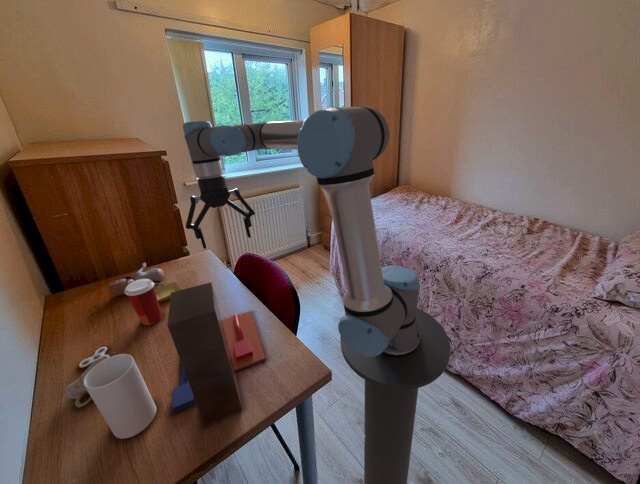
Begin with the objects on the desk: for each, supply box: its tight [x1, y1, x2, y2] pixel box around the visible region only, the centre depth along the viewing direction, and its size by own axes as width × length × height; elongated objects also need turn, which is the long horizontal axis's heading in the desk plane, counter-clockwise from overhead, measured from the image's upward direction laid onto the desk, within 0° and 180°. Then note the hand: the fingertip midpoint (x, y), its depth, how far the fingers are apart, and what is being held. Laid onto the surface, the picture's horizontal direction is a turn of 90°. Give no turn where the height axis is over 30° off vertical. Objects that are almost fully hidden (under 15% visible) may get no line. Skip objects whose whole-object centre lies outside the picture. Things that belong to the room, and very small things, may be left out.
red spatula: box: [232, 313, 253, 361], centre depth 87 cm, size 19×4×1 cm, turn 27°
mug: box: [65, 357, 107, 408], centre depth 71 cm, size 8×10×10 cm
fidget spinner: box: [78, 346, 111, 368], centre depth 81 cm, size 7×6×1 cm
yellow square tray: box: [154, 280, 183, 303], centre depth 107 cm, size 9×9×2 cm
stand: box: [167, 282, 243, 426], centre depth 63 cm, size 8×11×29 cm
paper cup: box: [124, 279, 163, 326], centre depth 92 cm, size 8×8×14 cm
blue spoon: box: [172, 365, 196, 413], centre depth 75 cm, size 19×4×1 cm, turn 27°
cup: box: [84, 353, 157, 439], centre depth 62 cm, size 8×8×16 cm
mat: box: [222, 311, 266, 372], centre depth 86 cm, size 12×22×1 cm, turn 27°
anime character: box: [107, 262, 167, 297], centre depth 110 cm, size 25×6×18 cm
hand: (227, 241), depth 93 cm, fingers open, 13 cm apart
